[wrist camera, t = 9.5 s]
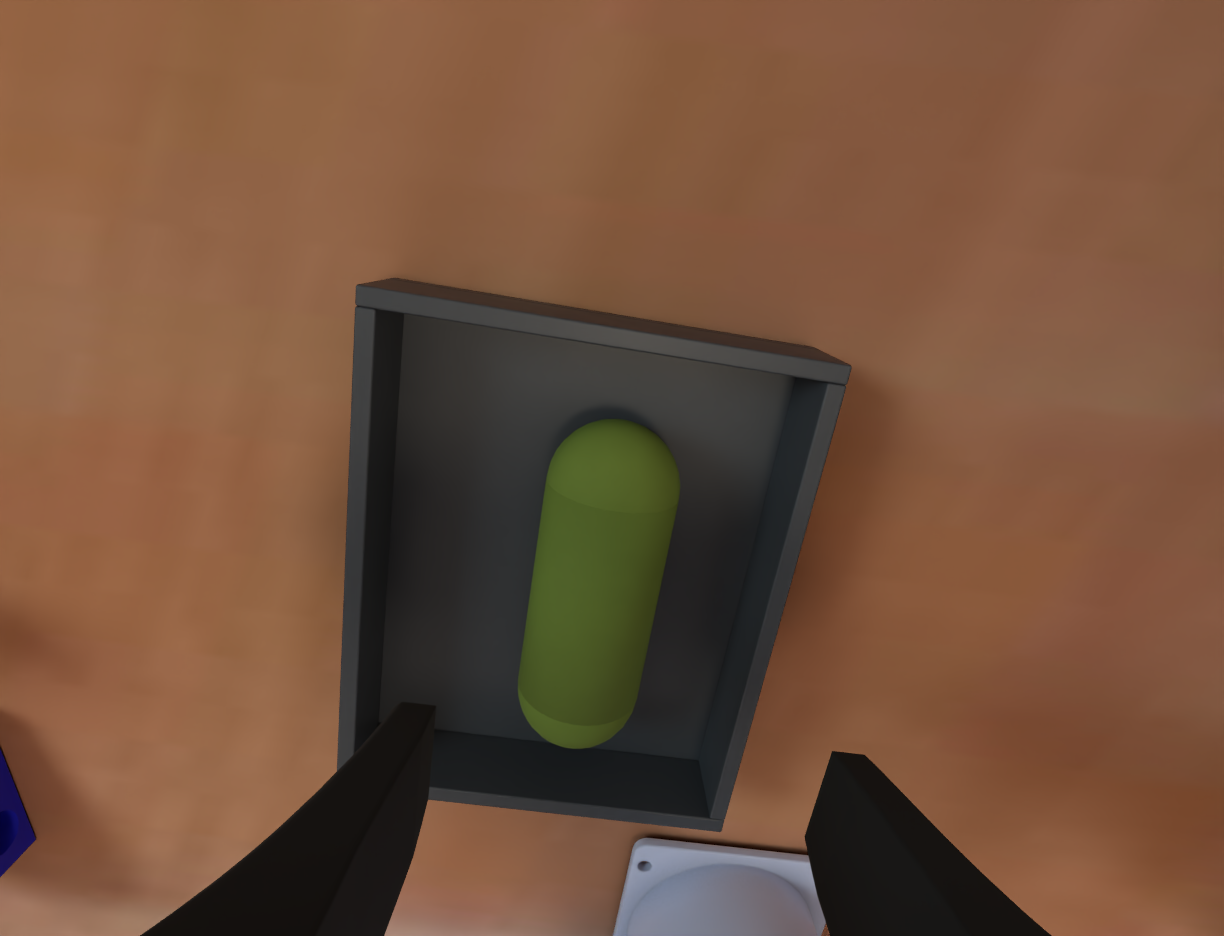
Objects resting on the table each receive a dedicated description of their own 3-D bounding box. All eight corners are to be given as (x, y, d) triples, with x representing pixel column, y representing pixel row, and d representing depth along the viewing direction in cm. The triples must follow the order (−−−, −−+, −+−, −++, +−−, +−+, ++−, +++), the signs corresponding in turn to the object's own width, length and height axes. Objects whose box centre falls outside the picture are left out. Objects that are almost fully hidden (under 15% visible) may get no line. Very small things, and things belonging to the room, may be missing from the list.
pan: (706, 762, 24) (721, 833, 21) (368, 722, 23) (335, 790, 20) (815, 347, 19) (853, 366, 16) (393, 277, 18) (354, 283, 15)
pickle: (596, 686, 23) (648, 761, 20) (495, 704, 21) (535, 790, 18) (649, 404, 20) (719, 444, 17) (535, 400, 18) (591, 443, 15)
